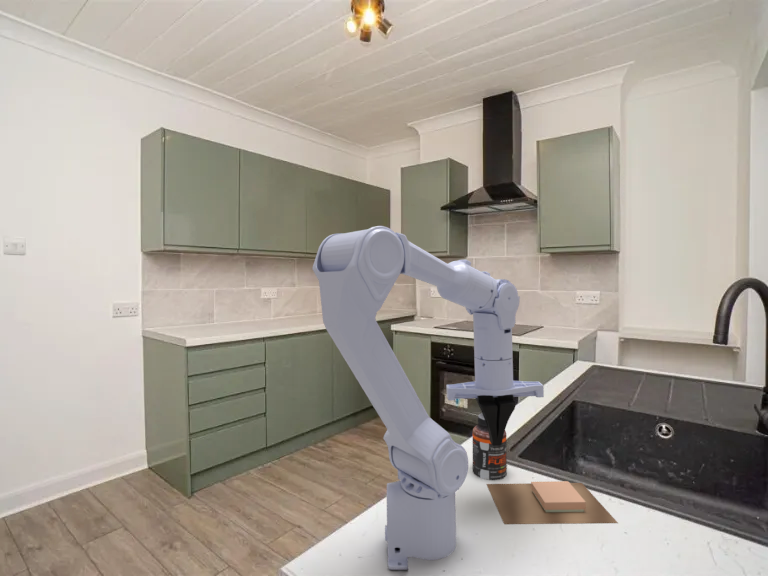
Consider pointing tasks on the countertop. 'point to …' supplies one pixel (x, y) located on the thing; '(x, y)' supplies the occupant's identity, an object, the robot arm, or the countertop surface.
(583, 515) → the board
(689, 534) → the countertop surface
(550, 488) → the tile
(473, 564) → the countertop surface
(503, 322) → the robot arm
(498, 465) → the supplement bottle
